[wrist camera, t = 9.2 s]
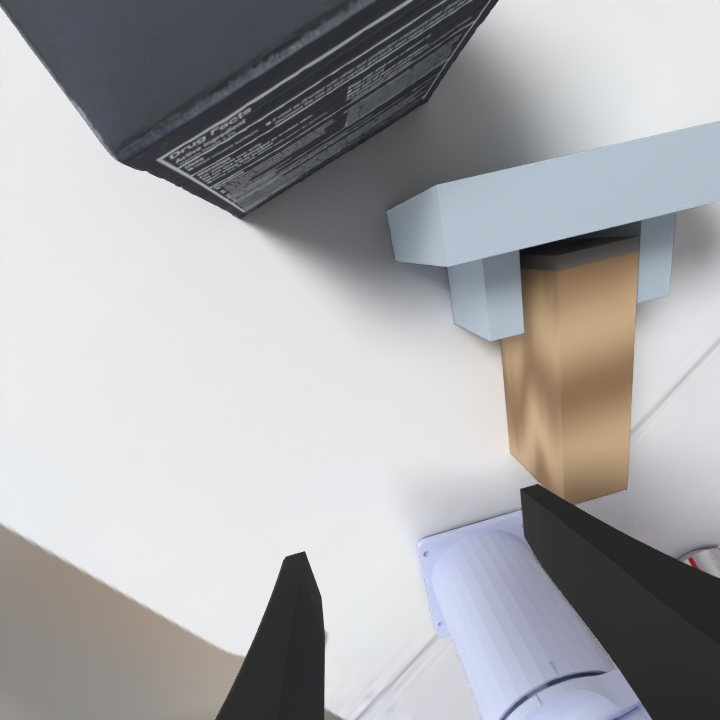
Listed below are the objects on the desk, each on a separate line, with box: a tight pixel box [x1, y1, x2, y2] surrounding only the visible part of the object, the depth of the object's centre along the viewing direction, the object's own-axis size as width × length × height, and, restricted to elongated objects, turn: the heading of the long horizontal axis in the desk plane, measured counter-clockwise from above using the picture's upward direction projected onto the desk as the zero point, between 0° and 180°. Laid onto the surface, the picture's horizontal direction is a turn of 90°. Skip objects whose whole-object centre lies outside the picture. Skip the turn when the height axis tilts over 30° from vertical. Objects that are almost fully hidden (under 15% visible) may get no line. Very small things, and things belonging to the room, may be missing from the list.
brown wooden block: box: [500, 236, 639, 505], centre depth 18 cm, size 13×4×5 cm, turn 12°
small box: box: [0, 0, 498, 218], centre depth 10 cm, size 11×6×10 cm, turn 120°
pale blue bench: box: [386, 121, 720, 342], centre depth 15 cm, size 6×14×7 cm, turn 103°
